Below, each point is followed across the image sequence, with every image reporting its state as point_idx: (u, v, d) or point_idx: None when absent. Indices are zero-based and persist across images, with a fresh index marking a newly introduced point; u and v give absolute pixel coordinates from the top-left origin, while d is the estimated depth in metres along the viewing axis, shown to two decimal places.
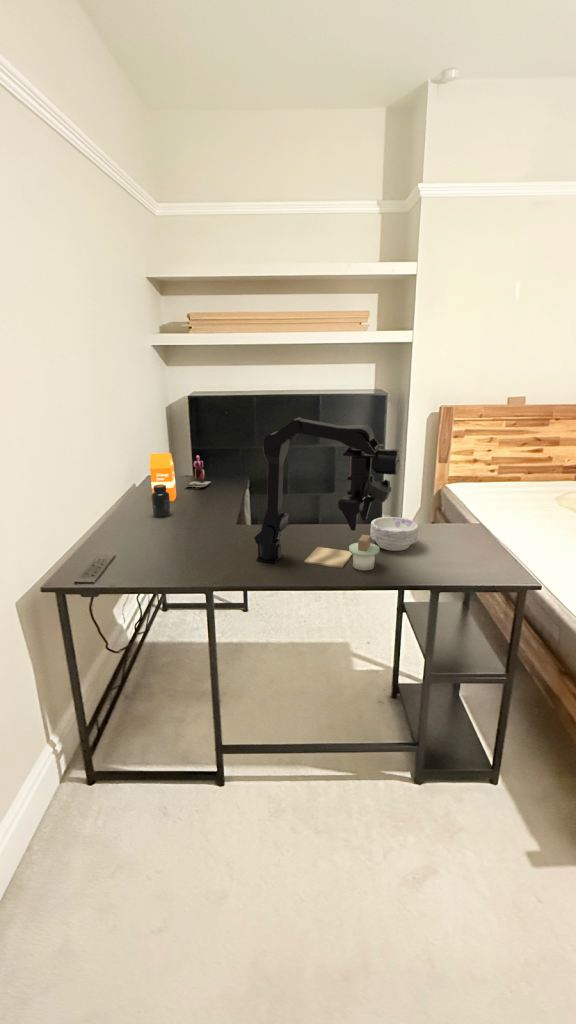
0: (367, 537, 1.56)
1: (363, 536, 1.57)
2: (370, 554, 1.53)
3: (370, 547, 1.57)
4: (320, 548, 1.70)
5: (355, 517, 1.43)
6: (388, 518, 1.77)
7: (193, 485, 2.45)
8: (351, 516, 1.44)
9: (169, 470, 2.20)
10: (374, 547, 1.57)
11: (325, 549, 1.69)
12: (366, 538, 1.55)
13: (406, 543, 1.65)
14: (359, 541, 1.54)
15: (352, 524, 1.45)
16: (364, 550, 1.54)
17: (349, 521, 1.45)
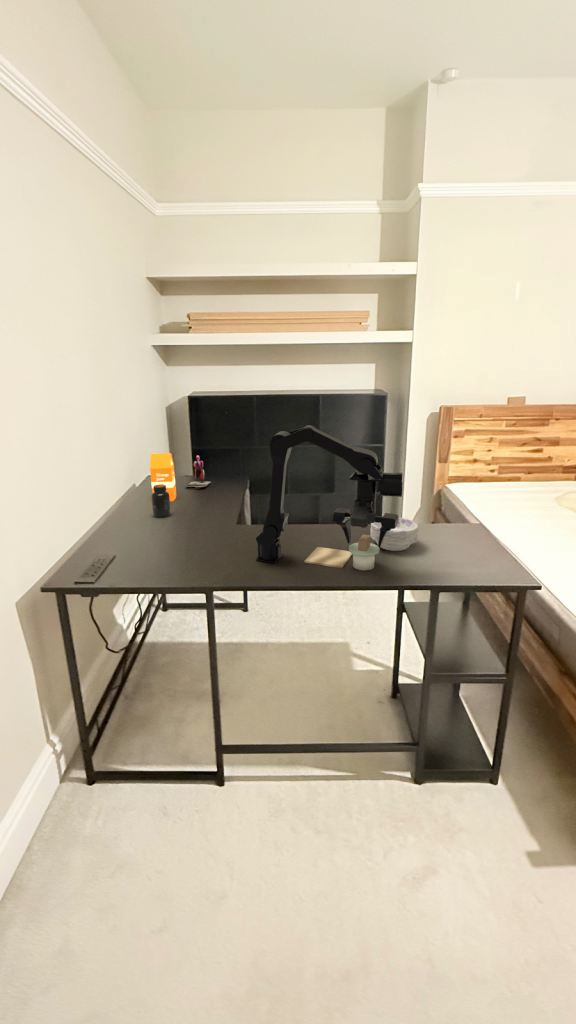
0: (367, 537, 1.56)
1: (363, 536, 1.57)
2: (370, 554, 1.53)
3: (370, 547, 1.57)
4: (320, 548, 1.70)
5: None
6: None
7: (193, 485, 2.45)
8: None
9: (169, 470, 2.20)
10: (374, 547, 1.57)
11: (325, 549, 1.69)
12: (366, 538, 1.55)
13: (406, 543, 1.65)
14: (359, 541, 1.54)
15: None
16: (364, 550, 1.54)
17: None
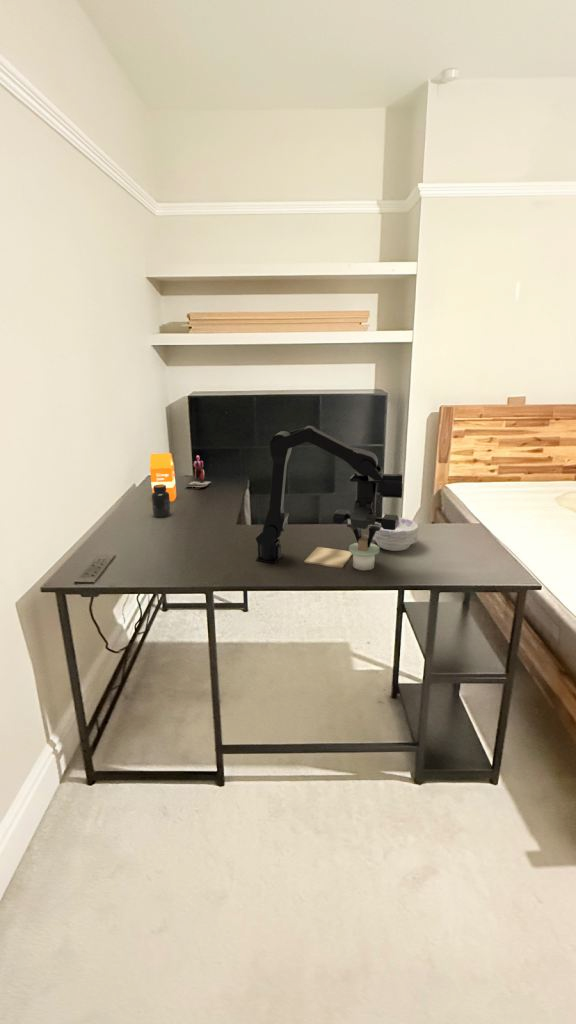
0: (367, 537, 1.56)
1: (363, 536, 1.57)
2: (370, 554, 1.53)
3: (370, 547, 1.57)
4: (320, 548, 1.70)
5: None
6: None
7: (193, 485, 2.45)
8: None
9: (169, 470, 2.20)
10: (374, 547, 1.57)
11: (325, 549, 1.69)
12: (366, 538, 1.55)
13: (406, 543, 1.65)
14: (359, 541, 1.54)
15: None
16: (364, 550, 1.54)
17: None
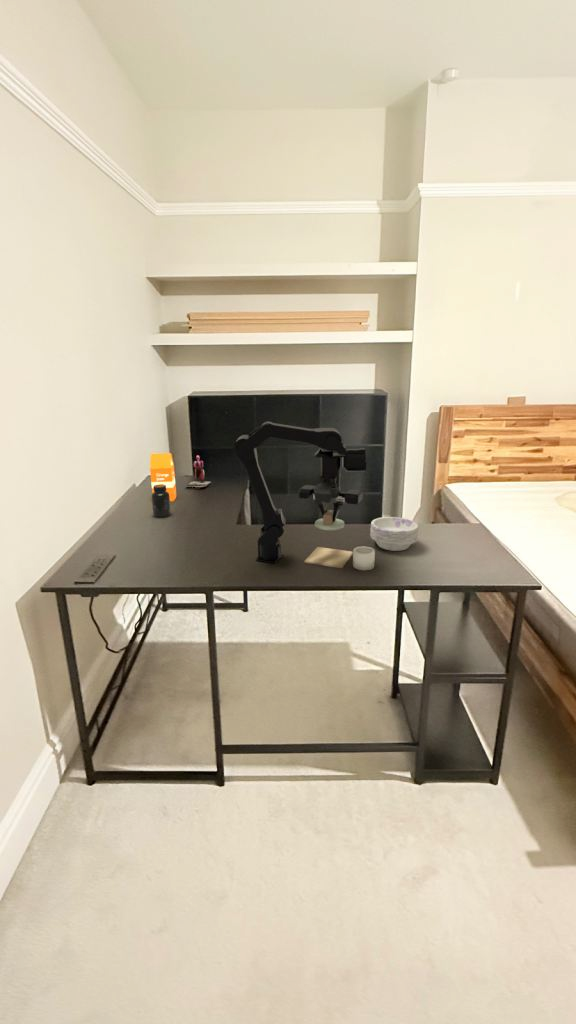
0: (332, 512, 1.60)
1: (329, 511, 1.61)
2: (334, 528, 1.57)
3: (336, 522, 1.61)
4: (320, 548, 1.70)
5: None
6: (388, 518, 1.77)
7: (193, 485, 2.45)
8: None
9: (169, 470, 2.20)
10: (339, 522, 1.61)
11: (325, 549, 1.69)
12: (331, 513, 1.59)
13: (406, 543, 1.65)
14: (324, 515, 1.58)
15: None
16: (329, 524, 1.58)
17: None
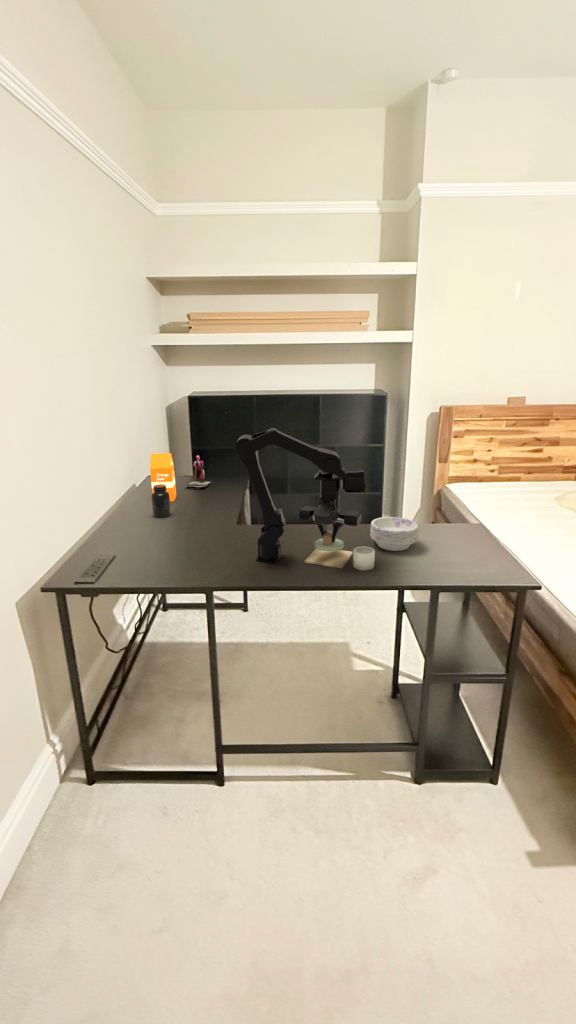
0: (332, 533, 1.62)
1: (328, 532, 1.63)
2: (334, 549, 1.59)
3: (335, 543, 1.63)
4: None
5: None
6: (388, 518, 1.77)
7: (193, 485, 2.45)
8: None
9: (169, 470, 2.20)
10: (339, 542, 1.63)
11: None
12: (331, 534, 1.61)
13: (406, 543, 1.65)
14: (324, 536, 1.60)
15: None
16: (328, 545, 1.60)
17: None
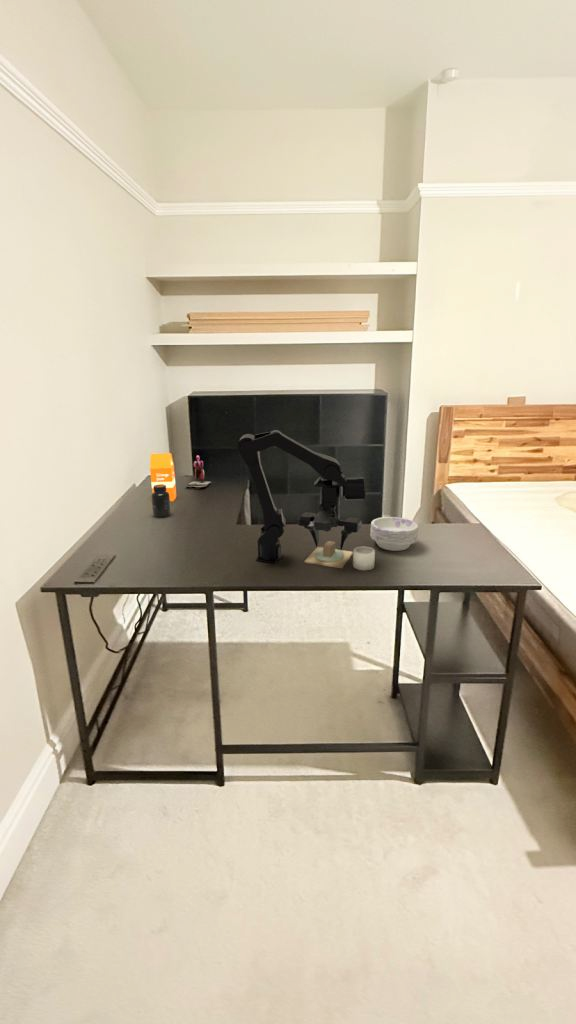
0: (332, 543, 1.63)
1: (328, 542, 1.64)
2: (334, 560, 1.60)
3: (335, 553, 1.64)
4: (320, 548, 1.70)
5: None
6: (388, 518, 1.77)
7: (193, 485, 2.45)
8: None
9: (169, 470, 2.20)
10: (339, 553, 1.64)
11: None
12: (331, 544, 1.63)
13: (406, 543, 1.65)
14: (324, 547, 1.61)
15: None
16: (328, 556, 1.61)
17: None
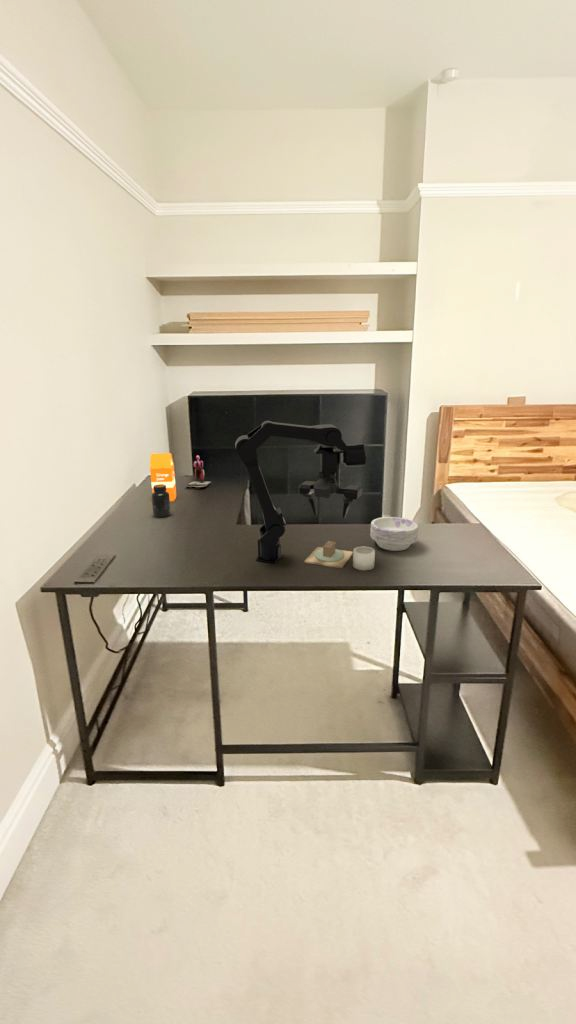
0: (332, 543, 1.63)
1: (328, 542, 1.64)
2: (334, 560, 1.60)
3: (335, 553, 1.64)
4: (320, 548, 1.70)
5: None
6: (388, 518, 1.77)
7: (193, 485, 2.45)
8: None
9: (169, 470, 2.20)
10: (339, 553, 1.64)
11: None
12: (331, 544, 1.63)
13: (406, 543, 1.65)
14: (324, 547, 1.61)
15: None
16: (329, 556, 1.61)
17: None
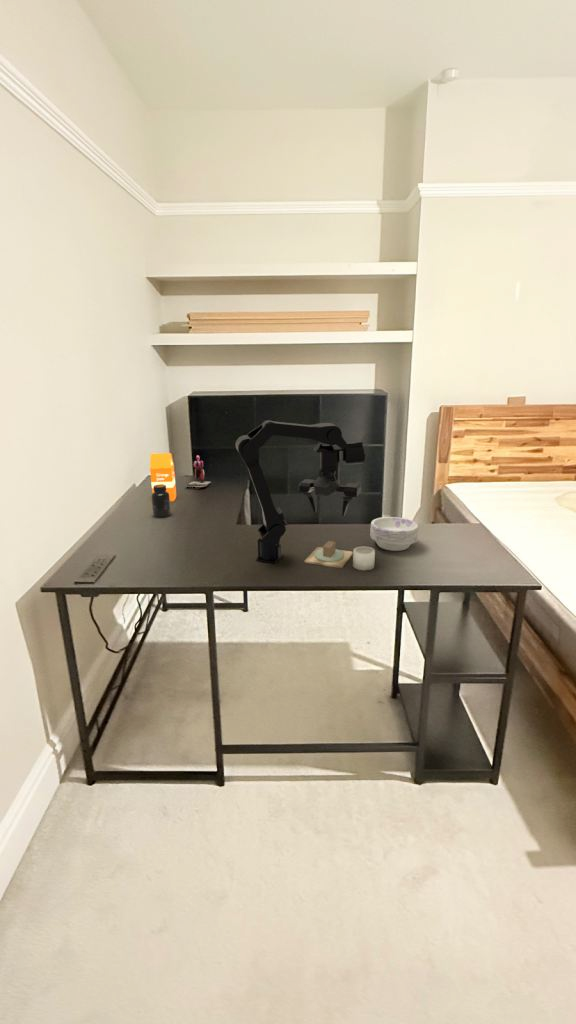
0: (332, 543, 1.63)
1: (328, 542, 1.64)
2: (334, 560, 1.60)
3: (335, 553, 1.64)
4: (320, 548, 1.70)
5: None
6: (388, 518, 1.77)
7: (193, 485, 2.45)
8: None
9: (169, 470, 2.20)
10: (339, 553, 1.64)
11: None
12: (331, 544, 1.63)
13: (406, 543, 1.65)
14: (324, 547, 1.61)
15: None
16: (329, 556, 1.61)
17: None
